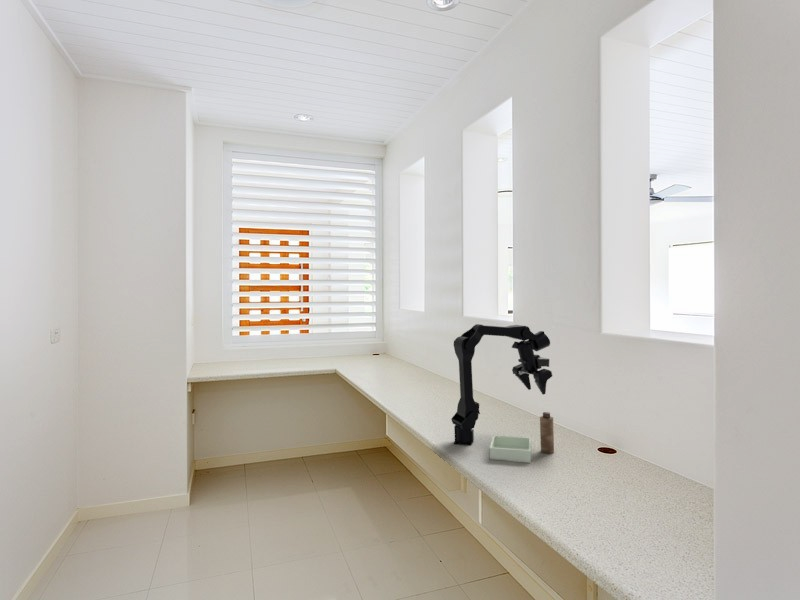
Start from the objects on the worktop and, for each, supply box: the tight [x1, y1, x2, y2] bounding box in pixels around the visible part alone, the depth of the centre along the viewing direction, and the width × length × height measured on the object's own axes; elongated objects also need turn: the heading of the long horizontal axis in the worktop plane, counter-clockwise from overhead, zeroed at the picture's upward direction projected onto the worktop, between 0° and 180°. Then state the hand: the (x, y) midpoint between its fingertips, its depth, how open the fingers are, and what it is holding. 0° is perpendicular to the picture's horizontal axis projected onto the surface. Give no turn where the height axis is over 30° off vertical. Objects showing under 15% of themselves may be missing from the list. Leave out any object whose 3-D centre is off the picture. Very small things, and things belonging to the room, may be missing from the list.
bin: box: [489, 434, 532, 464], centre depth 158 cm, size 13×13×4 cm
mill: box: [539, 411, 555, 455], centre depth 159 cm, size 4×4×14 cm
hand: (536, 391), depth 183 cm, fingers open, 9 cm apart
